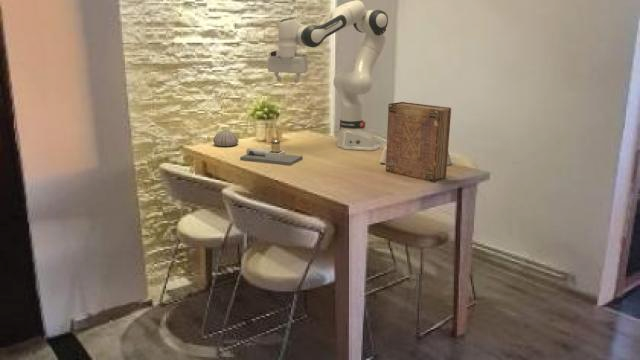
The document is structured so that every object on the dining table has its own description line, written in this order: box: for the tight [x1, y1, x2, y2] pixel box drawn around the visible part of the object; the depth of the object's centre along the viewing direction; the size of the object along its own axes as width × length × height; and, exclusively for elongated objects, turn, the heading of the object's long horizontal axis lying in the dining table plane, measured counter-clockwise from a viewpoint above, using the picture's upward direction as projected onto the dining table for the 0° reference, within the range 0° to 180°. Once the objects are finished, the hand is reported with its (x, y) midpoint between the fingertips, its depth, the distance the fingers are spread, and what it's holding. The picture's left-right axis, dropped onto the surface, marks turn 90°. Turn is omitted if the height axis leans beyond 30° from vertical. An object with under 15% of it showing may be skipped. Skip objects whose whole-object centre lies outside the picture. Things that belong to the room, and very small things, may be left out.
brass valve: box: [270, 139, 281, 153], centre depth 260 cm, size 4×4×8 cm
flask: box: [447, 151, 453, 166], centre depth 257 cm, size 7×7×10 cm
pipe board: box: [239, 147, 304, 166], centre depth 261 cm, size 26×14×4 cm, turn 68°
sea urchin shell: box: [212, 129, 239, 147], centre depth 292 cm, size 13×14×8 cm
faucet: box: [379, 146, 387, 165], centre depth 262 cm, size 4×18×10 cm, turn 130°
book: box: [385, 101, 452, 183], centre depth 234 cm, size 25×9×30 cm, turn 46°
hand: (287, 82), depth 269 cm, fingers open, 8 cm apart
